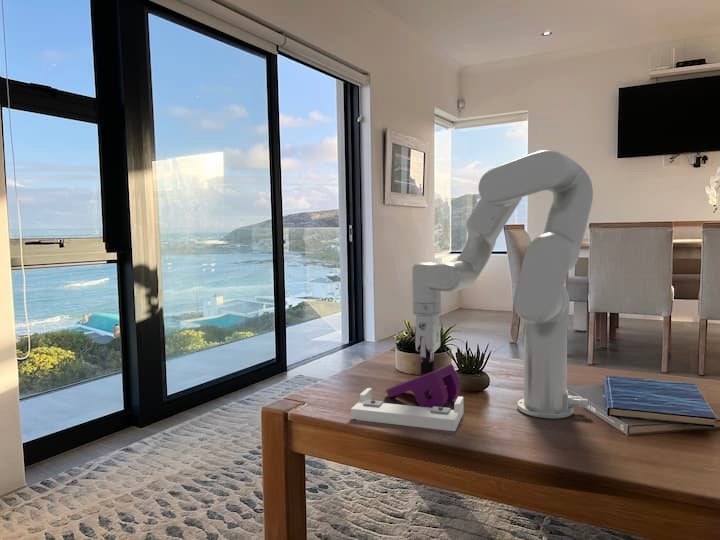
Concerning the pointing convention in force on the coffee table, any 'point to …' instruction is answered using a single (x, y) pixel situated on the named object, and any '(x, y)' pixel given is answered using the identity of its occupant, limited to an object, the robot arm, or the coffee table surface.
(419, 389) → the mounting bracket
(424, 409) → the white bolted base plate
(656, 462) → the coffee table surface
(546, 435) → the coffee table surface
